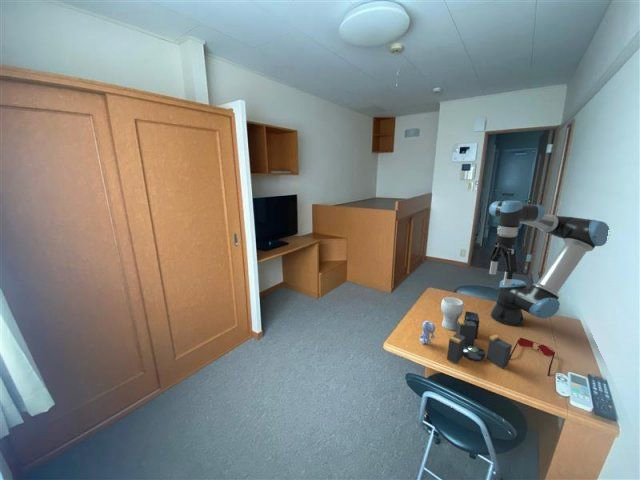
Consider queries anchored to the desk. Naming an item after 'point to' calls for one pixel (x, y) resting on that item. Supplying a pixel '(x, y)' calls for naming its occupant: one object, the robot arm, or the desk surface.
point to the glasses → (542, 347)
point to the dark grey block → (456, 348)
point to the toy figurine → (427, 332)
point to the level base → (473, 352)
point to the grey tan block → (467, 330)
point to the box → (472, 319)
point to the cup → (451, 312)
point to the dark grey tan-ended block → (498, 351)
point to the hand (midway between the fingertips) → (499, 279)
